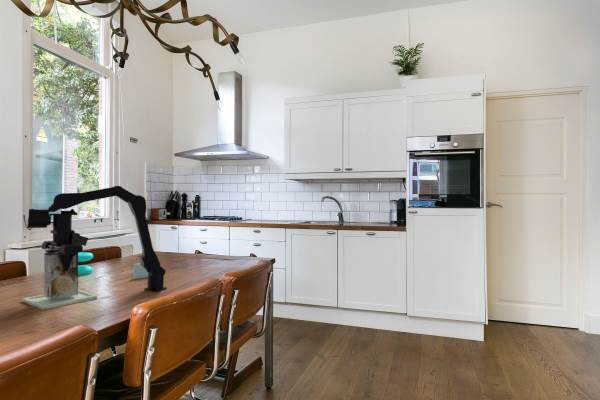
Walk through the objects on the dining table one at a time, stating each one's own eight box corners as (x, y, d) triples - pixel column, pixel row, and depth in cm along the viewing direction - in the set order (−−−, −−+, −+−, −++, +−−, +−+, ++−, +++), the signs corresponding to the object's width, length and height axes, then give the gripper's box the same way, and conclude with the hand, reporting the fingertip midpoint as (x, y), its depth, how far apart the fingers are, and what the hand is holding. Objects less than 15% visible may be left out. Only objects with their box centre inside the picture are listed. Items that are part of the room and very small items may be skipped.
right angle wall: (145, 273, 189) (146, 258, 189) (158, 276, 181) (158, 261, 181) (122, 276, 179) (122, 261, 179) (134, 280, 172) (134, 264, 172)
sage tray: (97, 298, 138) (97, 295, 138) (42, 309, 123) (42, 306, 123) (76, 291, 147) (76, 288, 147) (22, 301, 132) (22, 298, 132)
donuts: (90, 254, 177) (66, 255, 174) (89, 275, 177) (66, 276, 174) (95, 251, 187) (72, 252, 184) (94, 271, 187) (72, 272, 184)
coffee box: (71, 292, 140) (71, 250, 140) (78, 295, 136) (79, 251, 136) (43, 297, 133) (44, 252, 133) (50, 300, 129) (51, 254, 129)
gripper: (98, 227, 136) (97, 269, 136) (73, 225, 147) (72, 264, 147) (65, 229, 127) (64, 274, 127) (41, 226, 137) (40, 268, 137)
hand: (61, 270), depth 135 cm, fingers closed on coffee box, 6 cm apart
